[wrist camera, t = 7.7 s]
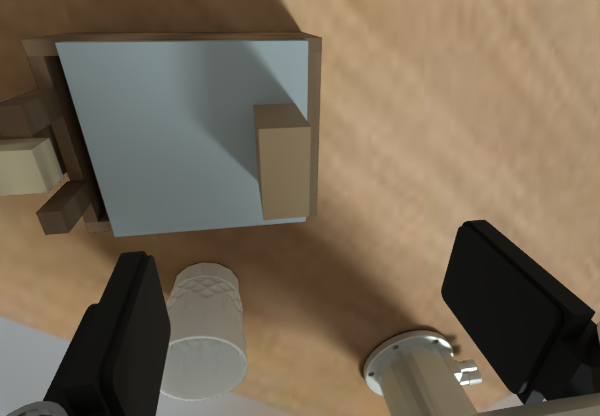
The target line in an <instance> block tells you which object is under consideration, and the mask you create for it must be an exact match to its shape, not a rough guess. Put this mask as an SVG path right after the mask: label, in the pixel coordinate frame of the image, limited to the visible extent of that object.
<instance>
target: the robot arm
mask: <svg viewBox="0 0 600 416" xmlns="http://www.w3.org/2000/svg"><path fill="white" fill-rule="evenodd" d="M441 293H442V297H443V299H444V301H445V303H446V304H447V305H448V307H449V308H450V309H451V311H452V312H453V314H454V315H455V316H456V318H457V319H458V320H459V322H460V323H461V325H462V326H463V327H464V329H465V330H466V332H467V333H468V334H469V336H470V337H471V338H472V340H473V341H474V343H475V344H476V345H477V347H478V348H479V349H480V351H481V352H482V354H483V355H484V356H485V358H486V359H487V361H488V362H489V363H490V365H491V366H492V367H493V369H494V370H495V372H496V373H497V374H498V376H499V377H500V378H501V380H502V381H503V383H504V384H505V385H506V387H507V388H508V389H509V390H510V391H511V392H512V393H514V394H516V395H517V396H518V397H519V399H520V400H521V402H522V403H523V404H524V405H522V406H516V407H510V408H504V409H499V410H493V411H487V412H482V413H478V412H477V410H476V409H475V407H474V406H473V404H472V402H471V401H470V399H469V397H468V396H467V394H466V392H465V391H464V389H463V387H462V385H473V384H479V383H481V382H482V378H481V374H480V373H479V371H478V370H477V365H476V363H475V361H474V360H465V361H462V362H458V361H456V360H454V359H453V349H452V347H451V345H450V344H449V342H448V341H447V339H446V338H445V337H443V336H442V335H441V334H438V333H436V332H432V331H427V330H418V331H410V332H406V333H403V334H400V335H397V336H395V337H392V338H391V339H389V340H387V341H385V342H384V343H382V344H381V345H380V346H378V347H377V348H376V349H375V350H374V351H373V352H372V353H371V355H370V356H369V357H368V359H367V361H366V363H365V365H364V370H363V373H364V378H365V381H366V384H367V386H368V387H369V388H370V389H371V390H372V391H373V392H375V393H377V394H379V395H382V396H384V398H385V401H386V404H387V406H388V409H389V411H390V414H391V416H600V322H599V323H598V324H597V325H596V324H595V323H594V322H593V321H592V320H591V319H592V317H593V315H594V314H595V311H594V310H592V309H591V308H590V307H589V306H588V305H586V304H585V303H584V302H583V301H582V300H580V299H579V298H578V297H577V296H576V295H575V294H573V293H572V292H571V291H570V290H569V289H567V288H566V287H565V286H564V285H563V284H561V283H560V282H559V281H558V280H557V279H555V278H554V277H553V276H552V275H551V274H549V273H548V272H547V271H546V270H545V269H543V268H542V267H541V266H540V265H539V264H537V263H536V262H535V261H534V260H533V259H532V258H530V257H529V256H528V255H527V254H526V253H524V252H523V251H522V250H521V249H520V248H518V247H517V246H516V245H515V244H514V243H512V242H511V241H510V240H509V239H508V238H506V237H505V236H504V235H503V234H502V233H500V232H499V231H498V230H497V229H496V228H495V227H493V226H492V225H491V224H490V223H489V222H487V221H486V220H474V221H466V222H464V223H463V225H462V226H461V227H459V228H458V231H457V235H456V238H455V242H454V245H453V249H452V253H451V256H450V260H449V264H448V267H447V271H446V274H445V278H444V282H443V285H442V290H441ZM170 335H171V324H170V319H169V315H168V311H167V308H166V304H165V300H164V296H163V292H162V288H161V284H160V280H159V276H158V272H157V268H156V264H155V260H154V257H153V256H152V255H150V256H147V255H146V253H145V252H144V251H138V252H127V253H122V254H121V255H120V257H119V259H118V262H117V264H116V266H115V268H114V270H113V273H112V275H111V277H110V279H109V282H108V284H107V286H106V288H105V291H104V293H103V295H102V297H101V299H100V302H99V303H98V304H92V305H90V306H89V307H88V309H87V310H86V312H85V314H84V316H83V318H82V320H81V322H80V324H79V326H78V328H77V331H76V333H75V335H74V337H73V339H72V341H71V343H70V345H69V348H68V349H67V352H66V354H65V356H64V358H63V360H62V362H61V364H60V366H59V368H58V370H57V372H56V375H55V376H54V379H53V381H52V383H51V385H50V387H49V389H48V391H47V393H46V395H45V397H44V399H43V401H41V402H35V403H31V404H28V405H25V406H23V407H21V408H19V409H17V410H15V411H13V412H11V413H9V414H8V415H7V416H155V415H156V410H157V405H158V399H159V394H160V389H161V383H162V378H163V373H164V367H165V362H166V357H167V351H168V346H169V340H170ZM544 398H545V399H546V400H547V401H544V402H542V401H543V399H544Z"/></svg>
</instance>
